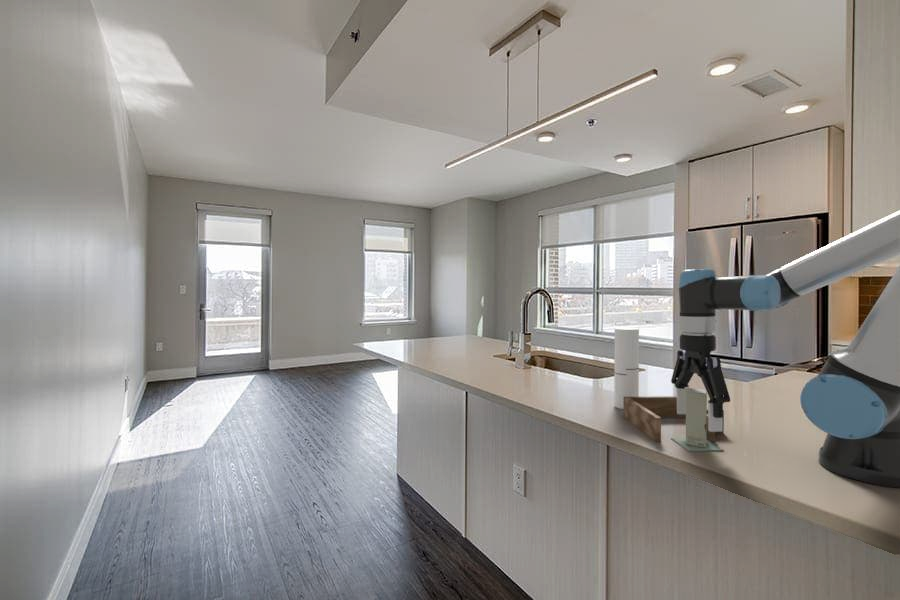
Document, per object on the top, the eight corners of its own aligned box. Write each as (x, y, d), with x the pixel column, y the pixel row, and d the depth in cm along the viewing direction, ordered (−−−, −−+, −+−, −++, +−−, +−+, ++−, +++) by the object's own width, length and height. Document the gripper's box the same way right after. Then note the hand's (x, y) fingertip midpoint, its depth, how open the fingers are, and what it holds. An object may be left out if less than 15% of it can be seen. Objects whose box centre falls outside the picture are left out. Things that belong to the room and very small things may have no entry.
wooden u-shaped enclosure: (738, 441, 104) (738, 417, 104) (656, 441, 105) (656, 417, 104) (692, 416, 124) (692, 396, 124) (623, 416, 125) (623, 396, 125)
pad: (723, 451, 98) (723, 449, 98) (688, 451, 98) (688, 449, 98) (703, 438, 106) (703, 437, 106) (671, 438, 106) (671, 437, 106)
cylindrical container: (641, 410, 131) (641, 329, 130) (616, 409, 133) (616, 329, 132) (635, 403, 138) (636, 327, 138) (612, 402, 140) (612, 327, 139)
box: (706, 448, 99) (707, 394, 99) (685, 445, 101) (685, 391, 101) (706, 441, 104) (707, 389, 103) (686, 438, 106) (686, 387, 106)
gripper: (749, 339, 89) (749, 439, 89) (684, 329, 114) (685, 407, 114) (713, 339, 89) (714, 440, 89) (656, 329, 114) (657, 408, 114)
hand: (698, 422), depth 102 cm, fingers open, 13 cm apart
